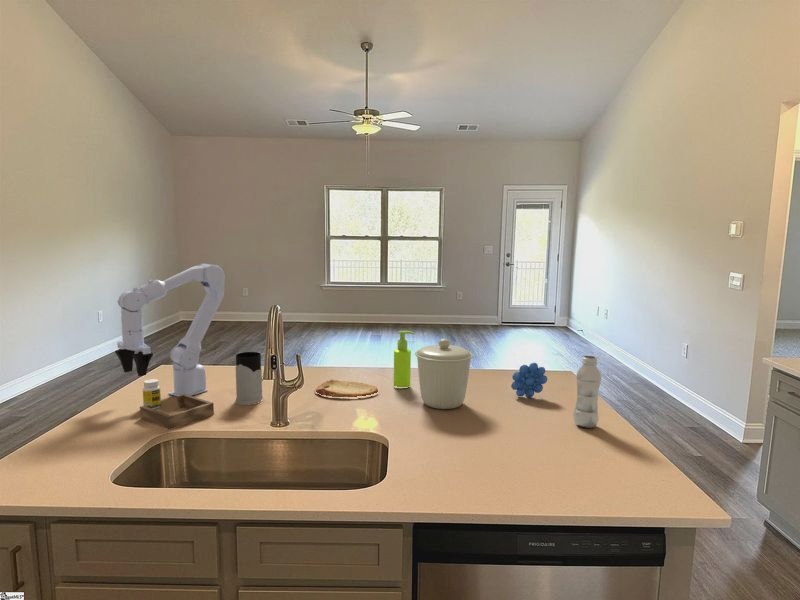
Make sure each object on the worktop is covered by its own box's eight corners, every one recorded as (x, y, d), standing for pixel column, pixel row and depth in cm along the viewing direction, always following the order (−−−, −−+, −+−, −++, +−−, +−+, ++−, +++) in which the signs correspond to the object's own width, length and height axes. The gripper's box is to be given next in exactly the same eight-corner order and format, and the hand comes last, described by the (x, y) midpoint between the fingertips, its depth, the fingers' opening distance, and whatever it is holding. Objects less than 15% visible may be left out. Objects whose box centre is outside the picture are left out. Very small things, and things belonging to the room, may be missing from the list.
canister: (443, 418, 144) (445, 348, 141) (402, 402, 157) (403, 337, 154) (483, 405, 156) (485, 340, 153) (441, 391, 169) (443, 331, 166)
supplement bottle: (153, 411, 147) (152, 383, 146) (140, 409, 148) (138, 382, 147) (164, 405, 152) (163, 379, 151) (151, 404, 153) (149, 378, 151)
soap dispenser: (413, 389, 171) (414, 332, 168) (393, 389, 171) (394, 332, 168) (413, 384, 177) (413, 329, 174) (393, 384, 177) (394, 329, 174)
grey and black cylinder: (229, 402, 155) (227, 356, 153) (257, 390, 168) (256, 347, 166) (252, 406, 152) (250, 359, 150) (279, 393, 165) (278, 349, 163)
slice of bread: (383, 395, 165) (383, 384, 165) (338, 406, 154) (338, 395, 153) (353, 382, 179) (353, 372, 178) (309, 392, 167) (309, 381, 167)
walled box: (185, 405, 152) (184, 394, 152) (213, 414, 145) (213, 402, 144) (140, 418, 141) (140, 406, 140) (169, 429, 133) (168, 417, 133)
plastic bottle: (579, 419, 144) (583, 353, 142) (602, 426, 139) (606, 357, 137) (568, 425, 140) (572, 356, 137) (592, 432, 135) (596, 361, 132)
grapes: (543, 394, 167) (545, 359, 166) (547, 400, 161) (549, 365, 159) (509, 392, 169) (510, 358, 167) (511, 399, 162) (513, 363, 160)
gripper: (106, 329, 151) (109, 372, 153) (133, 335, 143) (135, 380, 145) (129, 326, 157) (131, 367, 159) (156, 331, 149) (158, 375, 151)
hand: (135, 373), depth 152 cm, fingers open, 7 cm apart
